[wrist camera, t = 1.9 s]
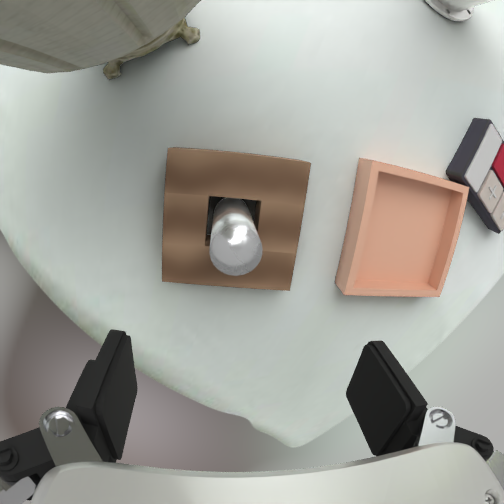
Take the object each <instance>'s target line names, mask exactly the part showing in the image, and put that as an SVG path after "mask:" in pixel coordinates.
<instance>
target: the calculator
mask: <svg viewBox="0 0 504 504" xmlns="http://www.w3.org/2000/svg"><path fill="white" fill-rule="evenodd" d="M446 174H447V175H448V177H449V178H450V179H451V180H452V181H453V182H455V183H458V184H461V185H464V186H467V187H469V192H468V197H467V199H468V201H469V202H470V204H471V205H472V206H473V208H474V209H475V211H476V212H477V213H478V215H479V216H480V218H481V219H482V220H483V222H484V223H485V225H486V226H487V228H488V229H490V230H492V231H494V232H496V233H498V234H499V233H500V232H501V231H503V229H504V141H503V140H502V138H501V136H500V135H499V133H498V131H497V130H496V128H495V126H494V125H493V123H492V121H491V120H489V119H479V118H474V119H473V120H472V122H471V124H470V127H469V129H468V131H467V132H466V134H465V136H464V138H463V140H462V142H461V144H460V146H459V148H458V150H457V152H456V153H455V155H454V157H453V159H452V161H451V163H450V164H449V166H448V168H447V170H446Z"/></svg>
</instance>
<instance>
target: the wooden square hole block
mask: <svg viewBox="0 0 504 504" xmlns="http://www.w3.org/2000/svg"><path fill="white" fill-rule="evenodd" d="M310 166H311V163H309V162H306V161H302V160H295V159H289V158H281V157H274V156H266V155H258V154H249V153H240V152H230V151H219V150H207V149H194V148H178V147H173V148H168V153H167V164H166V178H165V193H164V213H163V241H162V281H163V282H175V283H186V284H198V285H211V286H225V287H239V288H254V289H270V290H287V291H290V286H291V280H292V275H293V270H294V264H295V258H296V253H297V247H298V241H299V236H300V230H301V224H302V218H303V212H304V205H305V199H306V193H307V186H308V180H309V173H310ZM210 196H217V197H228V198H239V199H249V200H256V208H255V216H254V225H255V227H256V230H257V233H258V235H259V238H260V241H261V243H262V250H263V251H262V257H261V260H260V262H259V263H258V265H257V266H256V267H255V268H254V269H253V270H252V271H250V272H248V273H246V274H244V275H238V276H233V275H228V274H225V273H223V272H221V271H220V270H218V269H217V268H216V267H215V266H214V264H213V263H212V261H211V258H210V253H209V249H210V240H211V235H207V223H208V211H209V200H210Z"/></svg>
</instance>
